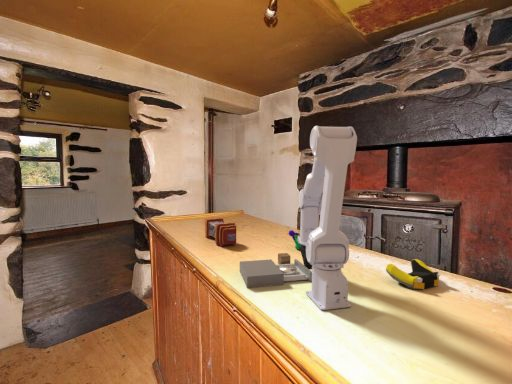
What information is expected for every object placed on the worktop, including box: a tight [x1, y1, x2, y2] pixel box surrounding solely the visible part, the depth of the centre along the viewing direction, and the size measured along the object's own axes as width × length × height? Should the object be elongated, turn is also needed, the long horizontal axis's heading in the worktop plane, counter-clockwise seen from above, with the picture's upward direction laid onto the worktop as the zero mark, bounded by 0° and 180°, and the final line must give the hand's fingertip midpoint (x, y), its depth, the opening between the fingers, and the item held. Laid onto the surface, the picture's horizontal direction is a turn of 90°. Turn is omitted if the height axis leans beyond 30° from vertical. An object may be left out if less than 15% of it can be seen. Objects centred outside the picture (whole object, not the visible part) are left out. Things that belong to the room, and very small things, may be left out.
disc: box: [279, 265, 297, 276], centre depth 83 cm, size 6×6×1 cm
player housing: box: [239, 259, 285, 289], centre depth 81 cm, size 13×11×3 cm
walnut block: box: [277, 252, 291, 265], centre depth 93 cm, size 4×4×4 cm
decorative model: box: [288, 229, 303, 251], centre depth 114 cm, size 13×9×15 cm
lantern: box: [204, 217, 237, 247], centre depth 125 cm, size 10×9×30 cm
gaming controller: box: [385, 258, 441, 290], centre depth 79 cm, size 15×6×10 cm
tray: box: [276, 258, 312, 283], centre depth 83 cm, size 13×11×2 cm
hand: (308, 268), depth 85 cm, fingers closed
